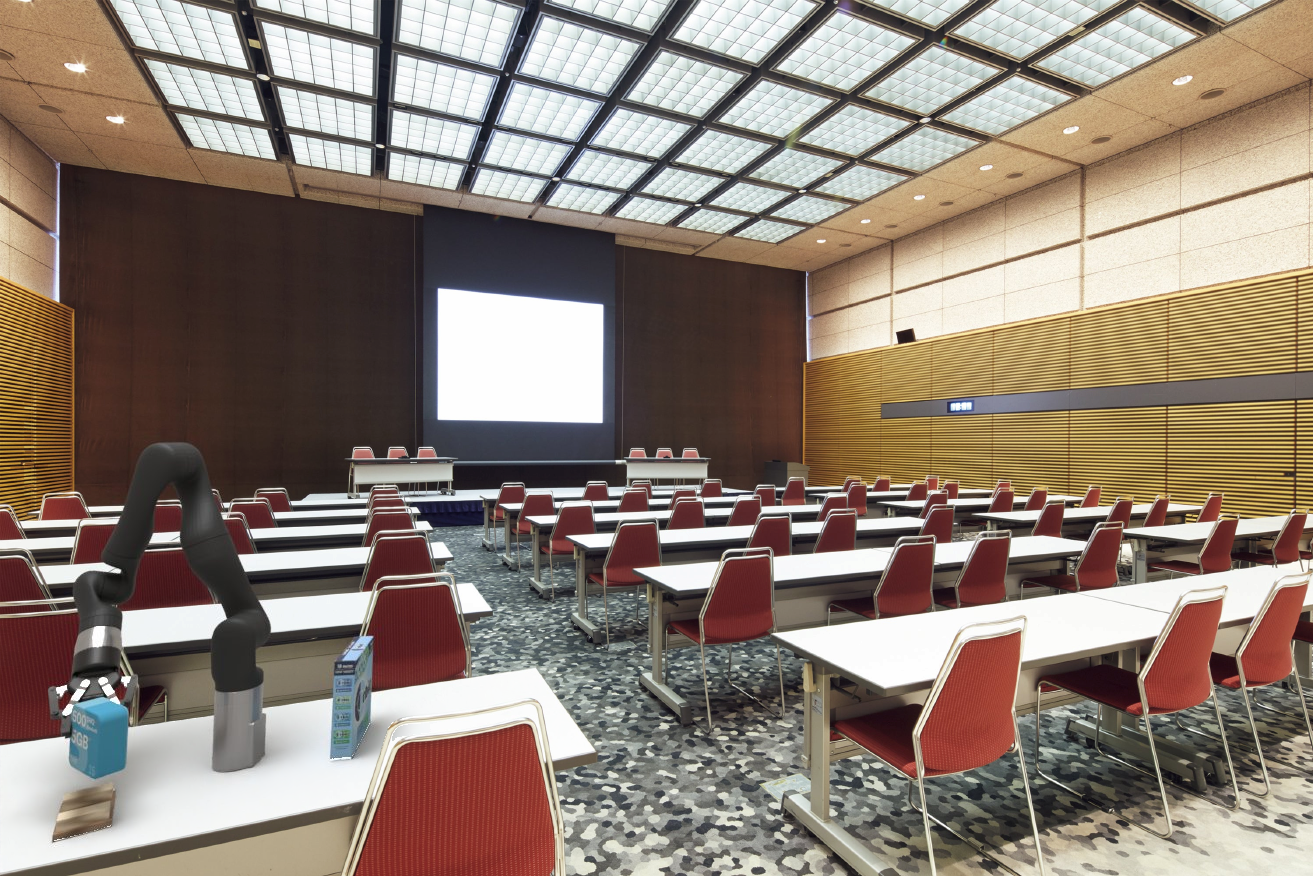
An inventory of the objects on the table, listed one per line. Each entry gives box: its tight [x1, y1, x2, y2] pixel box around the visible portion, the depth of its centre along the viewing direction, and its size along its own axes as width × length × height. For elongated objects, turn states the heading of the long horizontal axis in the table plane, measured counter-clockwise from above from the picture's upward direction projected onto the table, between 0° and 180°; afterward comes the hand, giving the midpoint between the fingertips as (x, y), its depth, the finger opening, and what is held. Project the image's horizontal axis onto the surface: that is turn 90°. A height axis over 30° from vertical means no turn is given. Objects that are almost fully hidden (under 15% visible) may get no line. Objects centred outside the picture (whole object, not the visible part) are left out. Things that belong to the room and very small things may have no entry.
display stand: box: [51, 781, 117, 842], centre depth 120 cm, size 8×13×3 cm, turn 38°
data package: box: [68, 697, 130, 780], centre depth 121 cm, size 12×4×12 cm, turn 62°
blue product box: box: [329, 635, 375, 760], centre depth 153 cm, size 20×5×23 cm, turn 13°
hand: (89, 732), depth 122 cm, fingers closed on data package, 5 cm apart
